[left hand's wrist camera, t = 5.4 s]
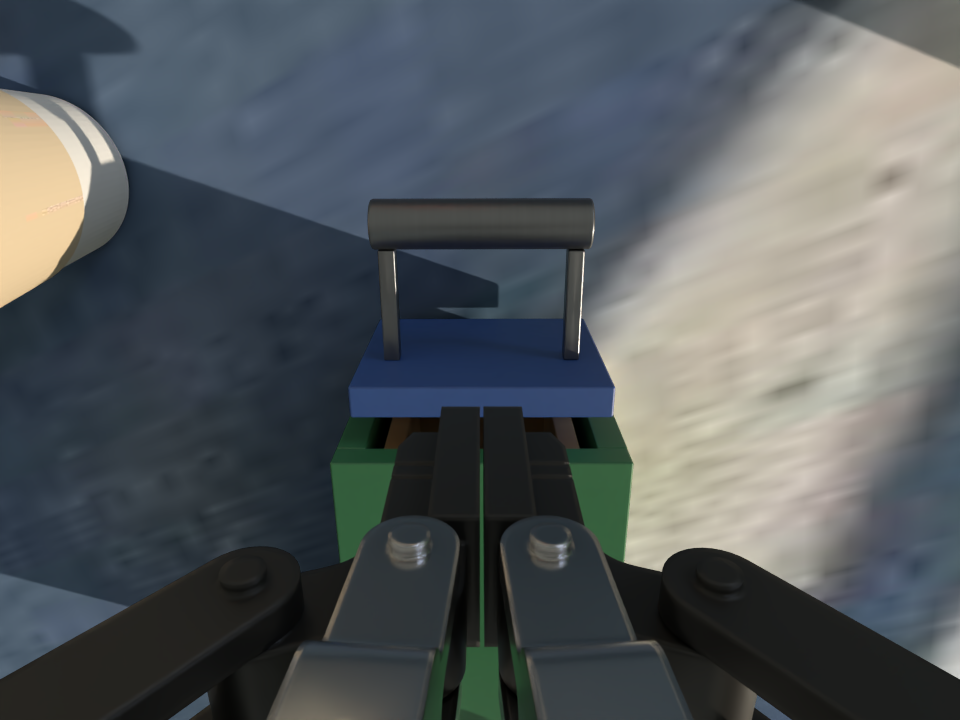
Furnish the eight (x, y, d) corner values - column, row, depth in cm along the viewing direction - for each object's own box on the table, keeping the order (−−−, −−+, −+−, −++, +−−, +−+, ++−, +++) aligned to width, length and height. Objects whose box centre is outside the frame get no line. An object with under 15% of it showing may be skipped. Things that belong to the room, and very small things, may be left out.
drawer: (371, 182, 28) (332, 211, 20) (591, 182, 27) (630, 210, 20) (399, 641, 37) (379, 771, 30) (565, 641, 37) (585, 772, 30)
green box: (373, 359, 32) (328, 463, 22) (590, 358, 32) (634, 463, 22) (394, 676, 39) (367, 851, 30) (570, 677, 39) (597, 851, 30)
